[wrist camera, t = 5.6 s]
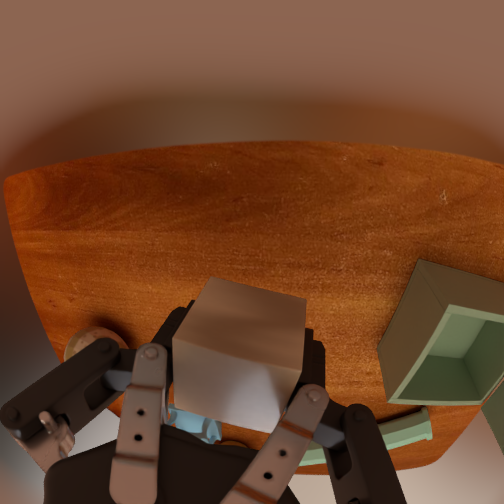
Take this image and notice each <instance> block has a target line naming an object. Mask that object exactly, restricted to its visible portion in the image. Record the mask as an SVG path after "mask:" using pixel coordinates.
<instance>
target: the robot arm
mask: <svg viewBox="0 0 504 504" xmlns="http://www.w3.org/2000/svg"><path fill="white" fill-rule="evenodd" d="M195 301H196V300H191V301H190V303H189V305H188V306H187V308H184V307H178V308H176V309H175V310H173V311H172V312H171V313H170V315H169V316H168V318H167V319H166V320H165V322H164V324H163V325H162V326H161V328H160V329H159V331H158V332H157V334H156V335H155V336H154V338H153V339H152V341H151V342H150V343H145V344H143V345H141V346H140V347H139V348H138V349H124V348H120V347H119V344H118V343H117V341H115V340H114V339H112V338H107V337H104V338H99V339H97V340H95V341H94V342H92V343H91V344H89V345H88V346H86V347H85V348H83V349H82V350H81V351H79V352H78V353H76V354H75V355H73V356H72V357H70V358H69V359H68V360H66V361H65V362H63V363H62V364H60V365H59V366H58V367H56V368H55V369H53V370H52V371H51V372H49V373H48V374H46V375H45V376H43V377H42V378H40V379H39V380H38V381H36V382H35V383H33V384H32V385H31V386H29V387H28V388H26V389H25V390H24V391H22V392H21V393H19V394H18V395H17V396H15V397H14V398H12V399H11V400H10V401H8V402H7V403H6V404H4V405H3V407H2V408H1V410H0V420H1V423H2V424H3V425H4V427H5V428H6V429H7V430H8V431H9V433H10V435H11V436H12V437H13V438H14V439H15V440H16V441H17V443H18V444H20V446H21V447H22V448H23V449H25V450H26V451H27V452H28V453H29V454H30V456H31V457H32V458H33V459H34V460H35V462H36V463H37V464H38V465H39V466H40V468H41V469H42V470H43V471H44V472H45V473H46V475H45V479H44V503H43V504H300V503H299V501H298V500H297V498H296V497H295V495H294V494H293V492H292V491H291V489H290V487H289V486H288V483H289V482H290V480H291V478H292V476H293V475H294V473H295V471H296V469H297V467H298V466H299V464H300V462H301V460H302V458H303V456H304V455H305V453H306V451H307V449H308V447H309V445H310V443H311V441H313V442H315V443H318V444H320V445H322V448H323V452H324V455H325V459H326V463H327V467H328V471H329V475H330V479H331V483H332V487H333V491H334V495H335V499H336V503H337V504H407V502H406V500H405V497H404V494H403V491H402V488H401V485H400V483H399V480H398V477H397V474H396V471H395V469H394V466H393V463H392V461H391V458H390V455H389V453H388V450H387V448H386V445H385V442H384V440H383V437H382V435H381V432H380V430H379V427H378V425H377V422H376V420H375V417H374V415H373V413H372V411H371V410H370V409H369V408H368V407H367V406H365V405H362V404H352V405H349V406H348V407H345V406H342V405H340V404H338V403H336V402H334V401H333V400H331V399H330V398H329V395H328V393H327V391H326V390H325V348H324V346H323V344H322V342H321V341H316V340H313V329H309V328H305V337H304V351H303V364H302V372H301V375H300V377H299V379H298V381H297V384H296V386H295V388H294V390H293V393H292V395H291V397H290V399H289V401H288V404H287V406H286V408H285V410H284V411H285V414H284V416H283V417H282V419H281V420H280V421H279V422H278V424H277V425H276V427H275V428H274V430H273V431H272V433H271V434H270V436H269V437H268V439H267V440H266V442H265V443H264V445H263V446H262V448H261V449H260V450H255V449H250V448H246V447H241V446H237V445H220V444H209V443H206V442H205V441H203V440H201V439H199V438H197V437H196V436H194V435H192V434H190V433H189V432H187V431H185V430H182V429H179V428H176V427H173V426H170V425H167V421H168V401H169V388H170V386H171V384H172V382H173V345H172V338H173V336H174V335H175V333H176V331H177V330H178V328H179V326H180V325H181V323H182V322H183V320H184V318H185V317H186V315H187V314H188V312H189V310H190V309H191V307H192V306H193V304H194V302H195ZM124 392H125V394H124V400H123V405H122V411H121V417H120V424H119V430H118V437H117V439H115V440H113V441H110V442H108V443H105V444H103V445H100V446H98V447H95V448H92V449H90V450H87V451H84V452H81V453H78V454H76V455H73V456H70V457H68V453H69V452H70V451H71V450H72V448H73V446H74V444H75V437H74V435H75V434H76V433H77V432H78V431H80V430H81V429H82V428H83V427H84V426H85V425H87V424H88V423H89V422H90V421H91V420H92V419H94V418H95V417H96V416H97V415H98V414H100V413H101V412H102V411H103V410H104V409H105V408H107V407H108V406H109V405H110V404H111V403H112V402H113V401H115V400H116V399H117V398H118V397H119V396H120V395H122V394H123V393H124Z"/></svg>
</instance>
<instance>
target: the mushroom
mask: <svg viewBox="0 0 504 504" xmlns="http://www.w3.org/2000/svg"><path fill="white" fill-rule="evenodd" d="M104 337H107V338H112V339H114V340H115V341H117V343H118V344H119V347H120V348H124V349H129V348H128V346H127V345H126V343H125V342H124V340H123V339H122V338H121V337H120V336H118V335H117V334H116V333H115V332H113V331H111V330H109V329H106V328H103V327H88V328H85V329H82V330H80V331H78V332H77V333H76V334H75V335H74V336H72V337H71V338H70V340H69V342H68V344H67V346H66V349H65V353H64V362H65V361H66V360H68V359H69V358H70V357H72V356H73V355H75V354H76V353H78V352H79V351H81V350H82V349H83V348H85V347H86V346H88V345H89V344H91V343H92V342H94V341H95V340H97V339H99V338H104Z"/></svg>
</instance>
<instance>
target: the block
mask: <svg viewBox="0 0 504 504" xmlns="http://www.w3.org/2000/svg"><path fill="white" fill-rule="evenodd" d="M306 302H307V300H306V299H304V298H299V297H295V296H291V295H286V294H282V293H278V292H273V291H269V290H265V289H261V288H256V287H252V286H248V285H244V284H240V283H236V282H232V281H228V280H224V279H220V278H216V277H210V278H209V280H208V282H207V283H206V285H205V286H204V288H203V290H202V291H201V293H200V294H199V296H198V297H197V299H196V301H195V302H194V304H193V306H192V307H191V309H190V310H189V312H188V314H187V315H186V317H185V318H184V320H183V322H182V323H181V325H180V326H179V328H178V330H177V331H176V333H175V335H174V336H173V338H172V345H173V385H174V406H175V408H178V409H181V410H184V411H187V412H190V413H194V414H197V415H200V416H203V417H207V418H210V419H214V420H217V421H221V422H224V423H228V424H232V425H236V426H240V427H244V428H249V429H253V430H258V431H262V432H267V433H272V431H273V430H274V428H275V427H276V425H277V424H278V422H279V420H280V418H281V416H282V414H283V412H284V410H285V408H286V406H287V404H288V401H289V399H290V397H291V395H292V393H293V390H294V388H295V386H296V384H297V381H298V379H299V377H300V375H301V372H302V364H303V351H304V337H305V321H306Z"/></svg>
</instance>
